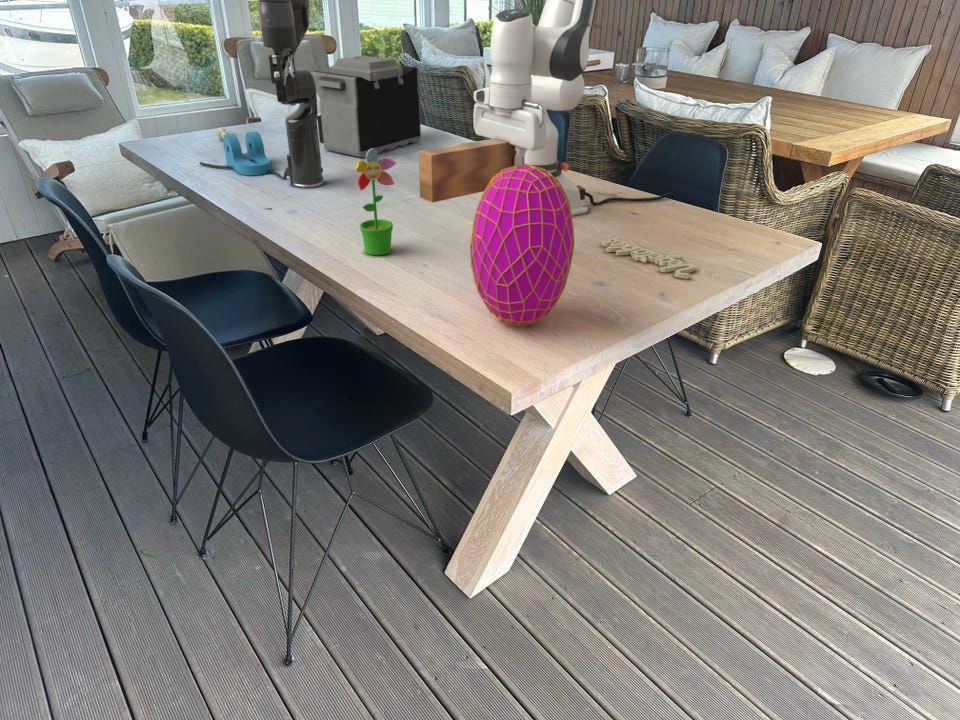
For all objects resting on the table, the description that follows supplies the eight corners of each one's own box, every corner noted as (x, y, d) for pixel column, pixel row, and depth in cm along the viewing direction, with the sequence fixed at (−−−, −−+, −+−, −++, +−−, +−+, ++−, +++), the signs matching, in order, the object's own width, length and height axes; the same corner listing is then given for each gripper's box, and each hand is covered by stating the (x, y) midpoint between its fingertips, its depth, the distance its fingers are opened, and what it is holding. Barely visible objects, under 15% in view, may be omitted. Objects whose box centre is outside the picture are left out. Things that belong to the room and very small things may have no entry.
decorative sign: (710, 264, 159) (686, 276, 153) (709, 268, 159) (685, 280, 153) (618, 234, 175) (593, 244, 169) (618, 238, 176) (593, 247, 170)
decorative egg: (525, 353, 124) (534, 190, 109) (449, 319, 135) (447, 167, 120) (586, 318, 136) (602, 167, 121) (512, 290, 148) (517, 148, 132)
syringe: (218, 132, 274) (216, 125, 272) (227, 131, 275) (226, 124, 274) (222, 147, 254) (220, 139, 252) (232, 146, 255) (231, 138, 254)
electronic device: (383, 133, 276) (378, 52, 261) (425, 141, 265) (422, 56, 250) (314, 150, 251) (304, 61, 235) (358, 160, 240) (350, 67, 224)
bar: (432, 202, 139) (431, 155, 134) (419, 197, 142) (418, 150, 137) (523, 182, 153) (525, 139, 148) (510, 178, 156) (511, 135, 151)
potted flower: (366, 259, 162) (357, 151, 149) (355, 248, 168) (346, 144, 155) (403, 252, 166) (398, 147, 153) (391, 242, 172) (385, 139, 159)
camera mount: (227, 164, 233) (221, 132, 227) (257, 160, 238) (252, 129, 233) (244, 176, 220) (239, 143, 215) (276, 172, 225) (271, 139, 220)
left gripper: (287, 26, 150) (296, 104, 159) (300, 21, 163) (308, 93, 171) (252, 26, 150) (263, 104, 159) (268, 21, 163) (278, 93, 171)
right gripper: (555, 102, 138) (551, 171, 145) (491, 88, 152) (489, 152, 159) (532, 106, 135) (529, 176, 142) (468, 91, 149) (468, 156, 156)
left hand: (286, 98), depth 165 cm, fingers open, 8 cm apart
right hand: (507, 163), depth 151 cm, fingers closed on bar, 4 cm apart
